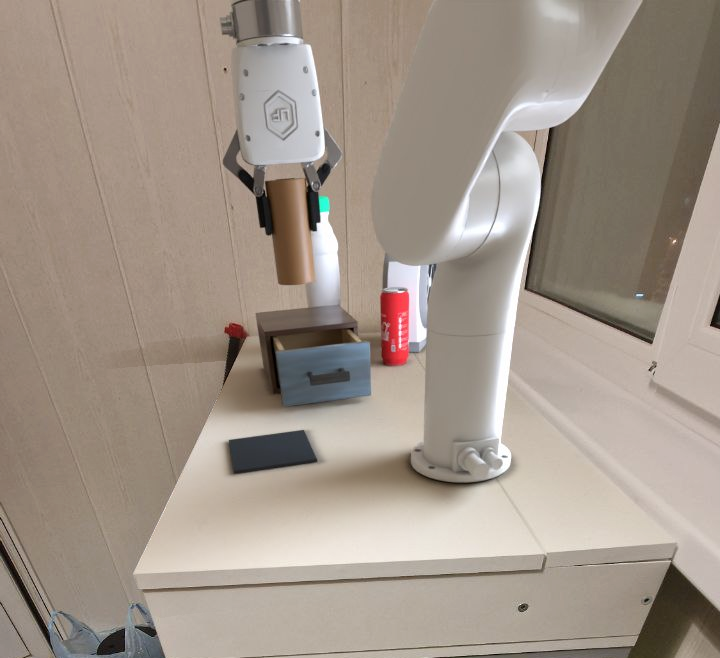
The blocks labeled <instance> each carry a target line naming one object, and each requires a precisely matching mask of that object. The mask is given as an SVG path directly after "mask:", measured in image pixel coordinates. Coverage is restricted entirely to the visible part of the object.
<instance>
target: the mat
mask: <svg viewBox="0 0 720 658" xmlns="http://www.w3.org/2000/svg"><path fill="white" fill-rule="evenodd" d="M228 445H229V452H230V457H231V464H232V470H233V474H241V473H248V472H255V471H256V472H257V471H262V470H269V469H275V468H283V467H291V466H296V465H297V466H298V465H304V464H310V463H317V462H318V458H317V456H316V453H315V452H314V449H313V447H312V444H311V442H310V440H309V438H308V435H307V433H306V431H305V429H300V430H292V431H285V432H284V431H283V432H277V433H269V434H263V435H256V436H255V435H254V436H247V437H241V438H240V437H239V438H233V439H228Z"/></svg>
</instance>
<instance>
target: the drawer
mask: <svg viewBox="0 0 720 658" xmlns="http://www.w3.org/2000/svg"><path fill="white" fill-rule="evenodd" d="M358 337H359V336H358ZM358 337H357V336H356V335H355V334H354V333H353V332H352V331H351V330H350V329H349V328H344V329H335V330H326V331H316V332H307V333H298V334H289V335H280V336H271V341H272V349H273V356H274V363H275V370H276V377H277V380H278V383H279V385H280V389H281V393H280V395H281V404H282V406H283V407H293V406H301V405H307V404H316V403H325V402H330V401H331V402H332V401H339V400H346V399H354V398H355V399H356V398H362V397H369V396H370V397H371V396H372V376H371V374H372V373H371V345H370V342H369V341H368V340H363V341H362V339H360V338H358Z"/></svg>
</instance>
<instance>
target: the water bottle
mask: <svg viewBox="0 0 720 658" xmlns="http://www.w3.org/2000/svg"><path fill="white" fill-rule="evenodd" d="M319 205H320V217H321V222H320V223H317V231H314V232H313V231H311V239H312V250H313V260H314V271H315V281H314V282H312V283H307V284H304V287H305V296H306V302H307V308H309V307H319V306H329V305H340V306H341V307H342V305H341V304H342V303H341V302H342V291H341V273H340V263H339V261H340V260H339V256H338V251H339V242H338V240H337V237H336V235H335V233H334V230H333V227H332V226H331V223H330V222H329V215H330V209H331V207H330V199H329V197H328V196H325V195H319Z"/></svg>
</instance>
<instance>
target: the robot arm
mask: <svg viewBox="0 0 720 658" xmlns="http://www.w3.org/2000/svg"><path fill="white" fill-rule="evenodd" d="M643 1H644V0H432V3H431V5H430V7H429V9H428V11H427V14H426V17H425V19H424V22H423V25H422V26H421V27H422V28H421V30H420V34H419V36H418V39H417V42H416V43H415V44H416V45H415V47H414V51H413V53H412V57H411V60H410V63H409V65H408V68H407V72H406V75H405V77H404V81H403V84H402V87H401V90H400V93H399V96H398V99H397V101H396V102H397V103H396V104H395V108H394V111H393V114H392V117H391V120H390V123H389V125H388V129H387V132H386V135H385V138H384V141H383V145H382V148H381V151H380V154H379V157H378V161H377V164H376V167H375V173H374V176H373V182H372V190H371V202H370V203H371V204H370V205H371V206H370V208H371V209H370V210H371V218H372V219H371V220H372V226H373V231H374V234H375V236H376V239H377V241H378V244H379V245H380V247H381V248H382V250H383V251H384V253H385V252H386V254H387V255H388V256H389V257H391V258H392V259H393V260H395V261H397V262H399V263H401V264H405V265H409V266H423V265H430V264H436V263H438V265H437V268H436V271H435V274H434V277H433V281H432V285H431V289H430V294H429V300H428V309H427V332H426V345H425V364H424V365H425V367H424V369H425V371H424V372H425V374H424V405H423V408H424V409H423V441H421V442H420V443H418V444H417V445H416V446H415V447H413V448H412V450H411V452H410V464H411V466H412V468H413V469H414V470H415V471H416V472H417V473H419V474H420V475H421V476H424V477H427V478H429V479H432V480H437V481H442V482H448V483H477V482H482V481H487V480H490V479H494V478H496V477H498V476H500V475H502V474H503V473H505V472H507V470H508V469H509V468H510V466H511V462H512V461H511V459H512V453H511V451H510V450H509V448H508V447H507V446H506V445H504V444H503V443H501V438H502V430H503V422H504V415H505V414H504V413H505V405H506V398H507V390H508V381H509V372H510V365H511V355H512V348H513V341H514V340H513V339H514V333H515V332H514V331H515V325H516V318H517V309H518V301H519V295H520V289H521V282H522V277H523V276H522V275H523V272H524V267H525V266H524V265H525V262H526V257H527V253H528V249H529V247H530V243H531V239H532V236H533V231H534V229H535V224H536V220H537V216H538V212H539V206H540V201H541V200H540V199H541V192H542V191H541V189H542V183H541V181H542V179H541V171H540V165H539V162H538V159H537V156H536V153H535V152H534V150H533V148H532V146H531V145H530V143H528V141H527V140H526V139H525V138H524V137H523V136H522V135H520V134H518V133H517V132H527V131H528V132H529V131H540V130H546V129H549V128H553V127H557V126H559V125H562V124H563V123H564V122H566V121H568V120H569V119H570V118H571V117H572V116H573V115H575V114H576V113H577V112H578V111H579V110H580V108H581V107H582V105H583V104H584V102H585V101H586V100H587V98H588V96H590V93H591V92H592V90H593V89H594V87H595V85H596V84H597V82H598V80H599V79H600V76H601V75H602V73H603V71H604V69H605V68H606V66H607V64H608V62H609V61H610V59H611V57H612V55H613V53H614V52H615V50H616V48H617V46H618V45H619V42H620V41H622V39H623V36H624V35H625V33H626V31H627V29H628V28H629V26H630V24H631V22H632V20H633V19H634V17H635V15H636V13H637V12H638V10H639V8H640V6H641V5H642V3H643ZM230 8H231V10H230V12H229V14H227V15H226V16H223V17H222V16H221V17H219V24H220V32H221V36H228V37H229V38H232V40H235V46H236V47H235V48H231V54H230V63H231V64H230V65H231V68H230V70H231V81H232V82H231V83H232V96H233V105H234V106H233V107H234V114H235V115H234V116H235V117H234V118H235V123H236V129H235V132H234V135H233V136H232V139H231V141H230V142H229V145H228V147H227V149H226V152H225V154H224V156H223V158H222V166H223V167H224V168H225V169H227V170H228V171H229V172H230V173H231V174H232V175H233V176H234V177H236V178H237V179H238V180H239V181H240V182H241V183H242V185H244V186H245V187H246V188H247V189H248V190H249V191H250V192H251V193H252V195H254V196H255V203H256V210H257V218H258V224H259V228H260V229H264V231H265V235H266V236H268V237H269V236H272V234H273V232H272V224H271V217H270V209H269V201H268V197H267V195H266V189H265V188H264V187H265V177H266V170H267V169H266V168H267V166H276V165H277V166H278V165H290V164H300V167H301V169H302V172H303V175H304V178H306V185H307V197H308V207H309V218H310V229H311V231H313V232H314V231H317V223H320V222H321V217H320V205H319V196H320V195H319V191H321V189H322V186H323V185H324V183H325V181H326V180H327V179H328V177H329V175H330V174H331V172H332V171H333V170H334V169H335V167H336V166H337V165H338V163H339V162H340V161H341V159H342V158H343V151H342V150H341V148H340V147H339V145H338V143H336V141H335V140H334V138H333V137H332V136H331V134H330V132H329V131H328V130H327V128H326V127H325V126H324V123H323V115H322V114H323V113H322V105H321V103H322V102H321V96H320V89H319V81H318V75H317V70H316V64H315V59H314V54H313V50H312V46H311V44H307V43H304V33H303V21H302V10H301V0H230ZM325 151H326V158H325V159H324V161H322V163H321V164H320V165H319V167H318V168H316V165H315V163H314V162H315V161H318V160H319V159H321V158H322V157H323V156H324V154H325ZM239 153H240V155H241V158H242V161H243V162H245V163H246V164H248V165H251V166H253V174H252V175H253V176H252V175H251V174H250V173H249V172H248V171H247V170H246V169H245V168H243V167H242V166H241V165H240V164H239V163H238V160H237V157H238V155H239Z"/></svg>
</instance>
